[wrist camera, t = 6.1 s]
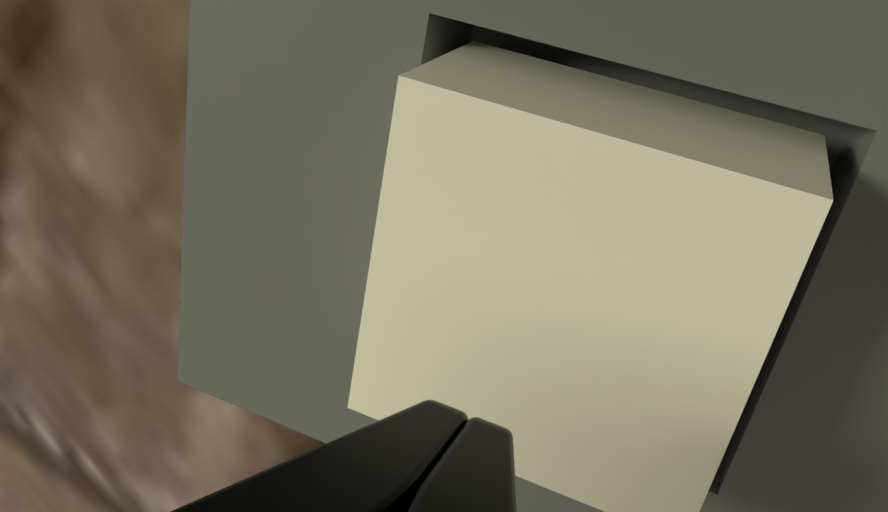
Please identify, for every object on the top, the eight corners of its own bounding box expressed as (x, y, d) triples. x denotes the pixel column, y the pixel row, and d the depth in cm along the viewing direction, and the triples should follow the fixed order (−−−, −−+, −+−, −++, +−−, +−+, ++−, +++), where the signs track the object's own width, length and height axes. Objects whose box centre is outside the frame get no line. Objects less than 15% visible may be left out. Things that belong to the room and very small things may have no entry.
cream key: (825, 135, 10) (834, 199, 8) (704, 429, 13) (685, 544, 10) (473, 40, 12) (399, 75, 9) (418, 325, 14) (347, 407, 12)
